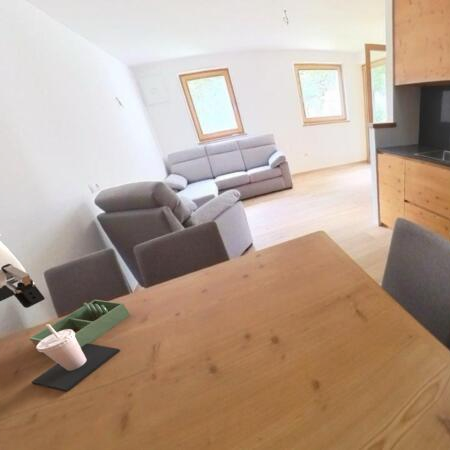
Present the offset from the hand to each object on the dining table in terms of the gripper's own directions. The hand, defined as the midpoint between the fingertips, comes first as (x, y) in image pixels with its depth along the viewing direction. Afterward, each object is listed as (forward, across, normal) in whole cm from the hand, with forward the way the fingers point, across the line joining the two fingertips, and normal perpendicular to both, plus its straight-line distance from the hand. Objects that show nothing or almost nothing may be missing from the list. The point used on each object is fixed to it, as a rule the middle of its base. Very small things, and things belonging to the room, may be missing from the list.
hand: (20, 301), depth 64 cm
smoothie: (+22, +1, 0) cm, 22 cm away
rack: (+23, -12, +10) cm, 28 cm away
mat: (+23, +1, 0) cm, 23 cm away
